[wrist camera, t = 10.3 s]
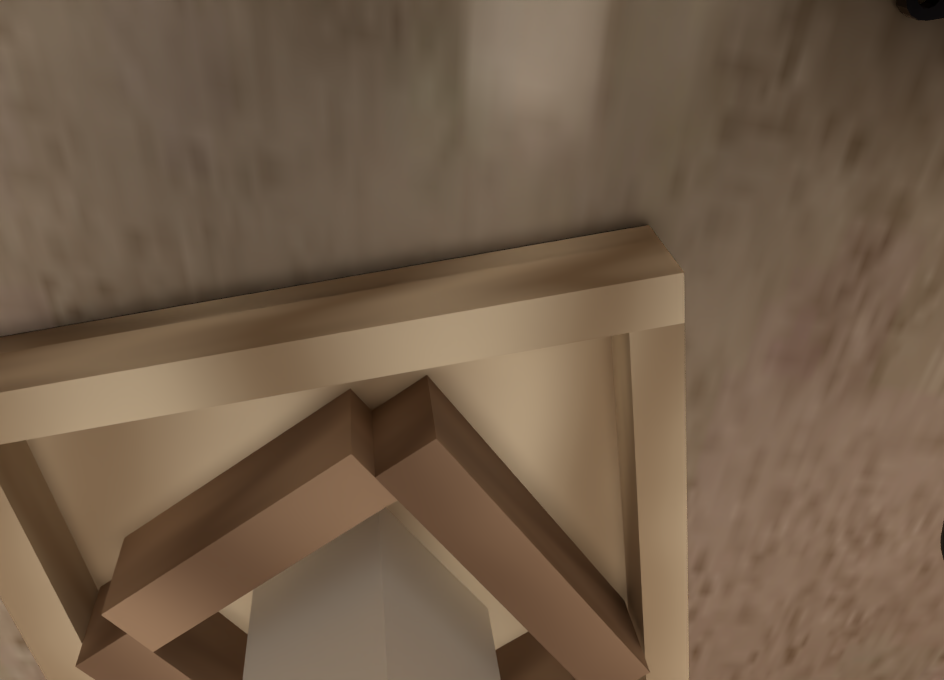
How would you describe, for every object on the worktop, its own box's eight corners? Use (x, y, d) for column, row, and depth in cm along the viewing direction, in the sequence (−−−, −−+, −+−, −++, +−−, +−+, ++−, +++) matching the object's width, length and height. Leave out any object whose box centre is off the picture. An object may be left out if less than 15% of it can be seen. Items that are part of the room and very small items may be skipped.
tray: (648, 225, 21) (697, 290, 18) (665, 723, 30) (699, 819, 27) (-57, 347, 20) (-123, 434, 17) (182, 818, 29) (164, 926, 26)
